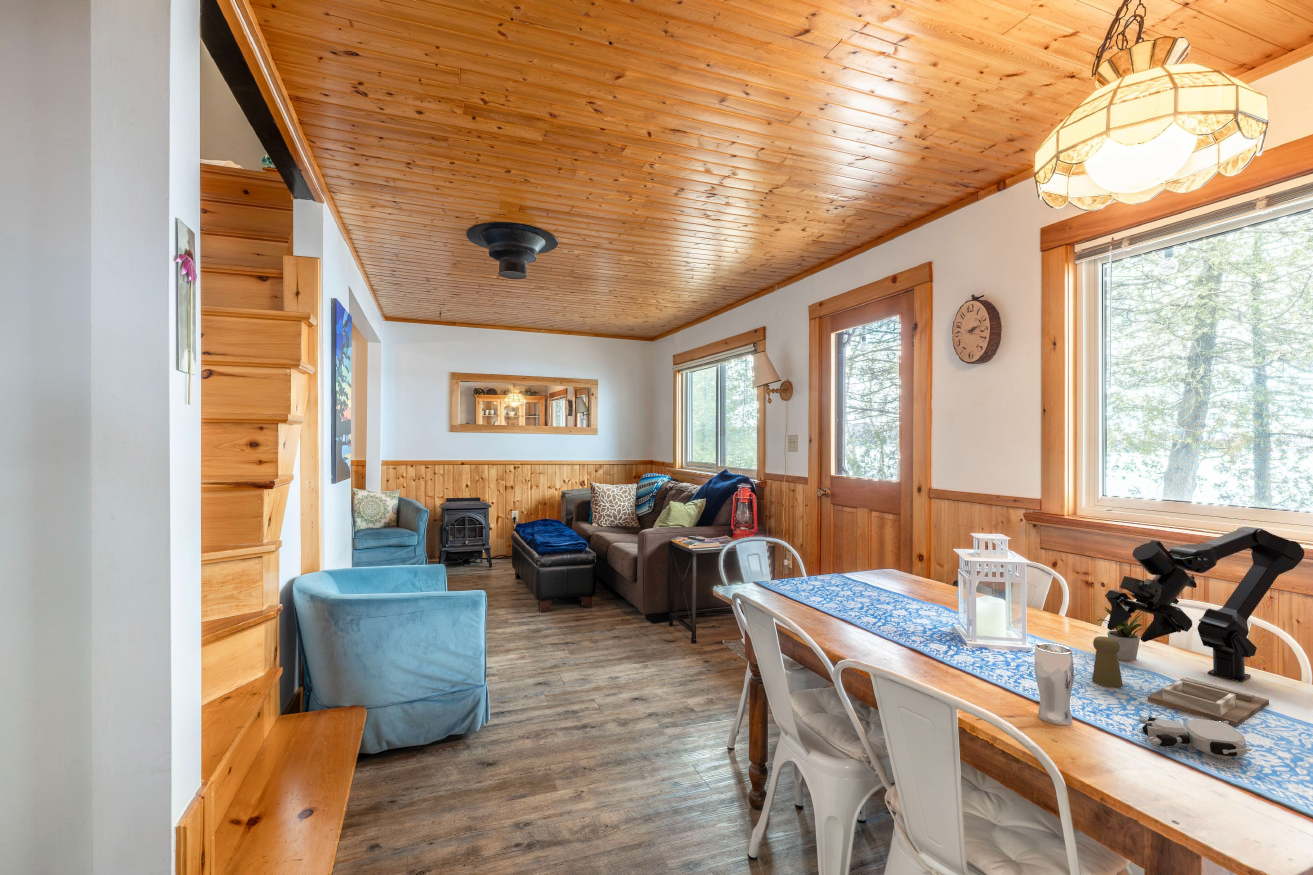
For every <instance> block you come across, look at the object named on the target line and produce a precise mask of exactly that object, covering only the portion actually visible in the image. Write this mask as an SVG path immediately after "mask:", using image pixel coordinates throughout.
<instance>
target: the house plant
mask: <svg viewBox="0 0 1313 875" xmlns="http://www.w3.org/2000/svg"><path fill="white" fill-rule="evenodd" d="M1089 600H1091V601H1092V599H1090V598H1089ZM1093 601H1095V602H1098V604H1099V603H1100V604H1101V606H1103V609H1101V610H1104V611H1106V612H1107V613H1108V614H1109V615H1110V614H1111V610H1110V609H1109V608H1108V607H1106V606H1104V605H1103V603H1101V602H1100V601H1097V600H1095V599H1093ZM1095 602H1094V604H1096V605H1097V603H1095ZM1141 612H1142V611H1140V610H1139V612H1138V613H1137V614H1136V615H1135V616H1134V617H1133V618H1132V619H1131V622H1130V623H1128V622H1129V620H1130V618H1129V619H1128V620H1126V621H1125V622H1123V623H1122V624H1120V625H1119V626H1118V627H1116V628H1115V629H1113V630H1108V631H1107V632H1106V634H1107V637H1110V638H1113V639H1115V640H1117V641H1118V643H1119V645H1120V649H1119V652H1118V653H1117V656H1118V660H1120V661H1126V662H1135V661H1137V656H1138V652H1139V646H1140V641H1141V639H1140V638H1141V636H1140V635H1139V634H1136V633H1137V632H1139V631H1141V630H1143V628H1139V627H1141V626H1143V624H1141V623H1138V622H1139V621H1141V619H1138V618H1140V616H1142V615H1143V614H1146V612H1142V613H1141ZM1093 616H1096V617H1097V618H1099V619H1097V620H1096V621H1095V622H1094V623H1098V622H1102V621H1103V622H1104V623H1105V624H1106V625H1108V622H1109V620H1106V619H1104V618H1103V619H1102V618H1101V617H1100V616H1098V615H1095V614H1093ZM1144 621H1145V622H1146V620H1145V619H1143V622H1144ZM1137 628H1139V629H1137Z"/></svg>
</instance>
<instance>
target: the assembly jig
mask: <svg viewBox="0 0 1313 875" xmlns="http://www.w3.org/2000/svg"><path fill="white" fill-rule="evenodd" d="M1150 701H1151V702H1150ZM1147 702H1150V703H1154V702H1155V703H1154V704H1157V705H1161V706H1164V707H1167V708H1172V709H1175V710H1178V711H1182V712H1185V713H1188V714H1191V713H1192V714H1191V715H1195V716H1198V715H1199V717H1202V716H1203V717H1202V718H1206V719H1209V720H1212V721H1215V720H1217V721H1221V722H1223V721H1228V722H1229V723H1228V725H1229V724H1231V725H1230V726H1233V725H1234V726H1233V727H1236V726H1237V727H1239V726H1240V725H1241V724H1243V723H1245V722H1246V721H1247V720H1249V719H1250V718H1252V716H1254V715H1256V714H1257V713H1259V712H1260V711H1261V710H1264V708H1265V707H1267V706H1269V705H1270V699H1269V698H1264V697H1260V696H1256V694H1253V693H1250V692H1245V691H1241V690H1237V689H1234V688H1231V687H1230V688H1229V687H1225V686H1221V685H1217V684H1214V683H1209V682H1205V681H1203V680H1197V679H1195V678H1194V679H1193V678H1191V677H1183V678H1180V679H1178V680H1176V681H1174V682H1173V683H1169V685H1166V686H1165V687H1162V688H1161V689H1159V690H1157V691H1155V692H1153V693H1152V694H1150V695H1148V696H1147ZM1248 718H1249V719H1248ZM1245 720H1246V721H1245ZM1242 722H1243V723H1242ZM1239 724H1240V725H1239ZM1238 725H1239V726H1238Z"/></svg>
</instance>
